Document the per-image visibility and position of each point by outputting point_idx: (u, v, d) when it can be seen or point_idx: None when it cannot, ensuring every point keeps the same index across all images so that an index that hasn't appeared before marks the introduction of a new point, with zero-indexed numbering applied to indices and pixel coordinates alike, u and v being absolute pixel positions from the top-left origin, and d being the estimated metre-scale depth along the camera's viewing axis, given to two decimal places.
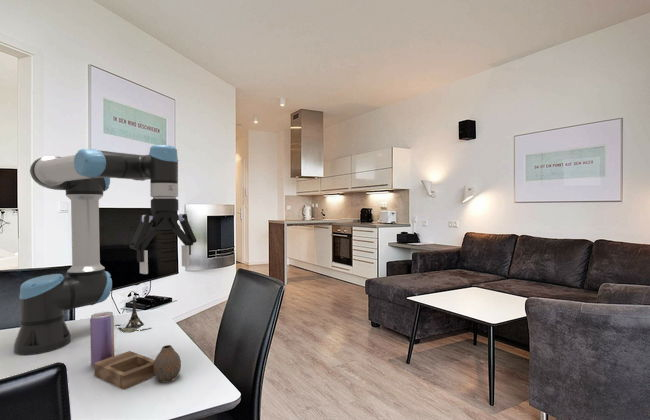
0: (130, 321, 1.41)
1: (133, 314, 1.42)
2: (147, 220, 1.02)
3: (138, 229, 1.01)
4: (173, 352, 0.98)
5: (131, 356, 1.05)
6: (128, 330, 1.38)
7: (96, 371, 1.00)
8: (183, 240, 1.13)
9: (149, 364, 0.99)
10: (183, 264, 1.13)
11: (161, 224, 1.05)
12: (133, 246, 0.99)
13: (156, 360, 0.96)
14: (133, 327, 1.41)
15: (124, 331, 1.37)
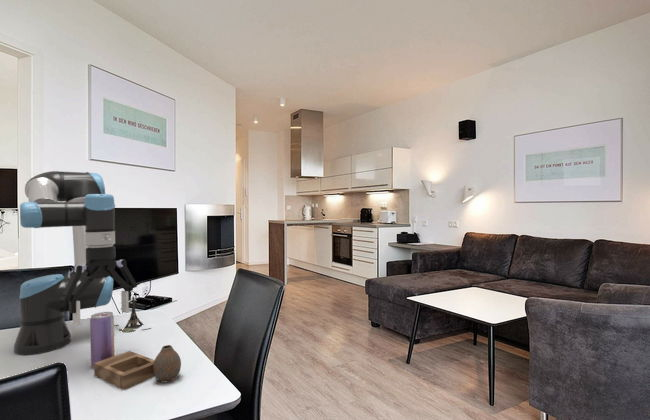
0: (129, 321, 1.41)
1: (132, 314, 1.41)
2: (79, 271, 1.02)
3: (70, 280, 1.01)
4: (173, 352, 0.98)
5: (131, 356, 1.05)
6: (127, 330, 1.37)
7: (96, 371, 1.00)
8: (122, 286, 1.13)
9: (149, 364, 0.99)
10: (123, 310, 1.13)
11: (95, 273, 1.05)
12: (64, 298, 0.99)
13: (156, 360, 0.96)
14: (132, 327, 1.41)
15: (123, 331, 1.37)
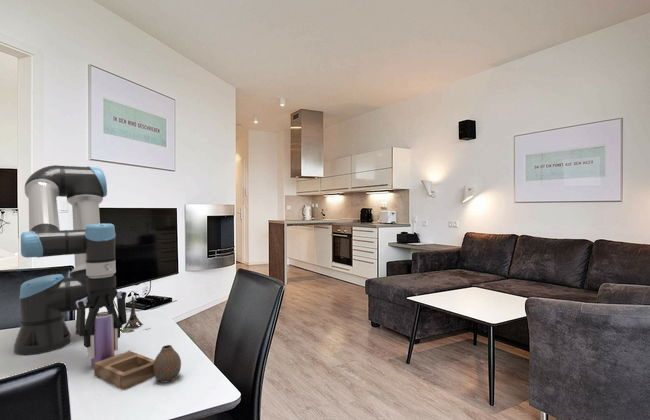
0: (129, 321, 1.41)
1: (132, 314, 1.41)
2: (82, 306, 1.02)
3: (77, 316, 1.03)
4: (173, 352, 0.98)
5: (131, 356, 1.05)
6: (127, 330, 1.37)
7: (96, 371, 1.00)
8: None
9: (149, 364, 0.99)
10: None
11: (98, 304, 1.05)
12: (79, 333, 1.02)
13: (156, 360, 0.96)
14: (132, 327, 1.41)
15: (122, 331, 1.37)
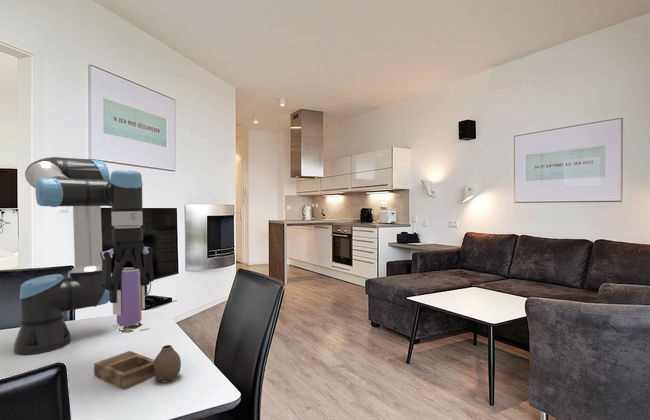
0: None
1: None
2: (108, 257, 0.94)
3: (103, 268, 0.95)
4: (173, 352, 0.98)
5: (131, 356, 1.05)
6: (126, 330, 1.37)
7: (96, 371, 1.00)
8: None
9: (149, 364, 0.99)
10: None
11: (125, 257, 0.97)
12: (105, 287, 0.94)
13: (156, 360, 0.96)
14: (131, 327, 1.41)
15: (121, 331, 1.36)
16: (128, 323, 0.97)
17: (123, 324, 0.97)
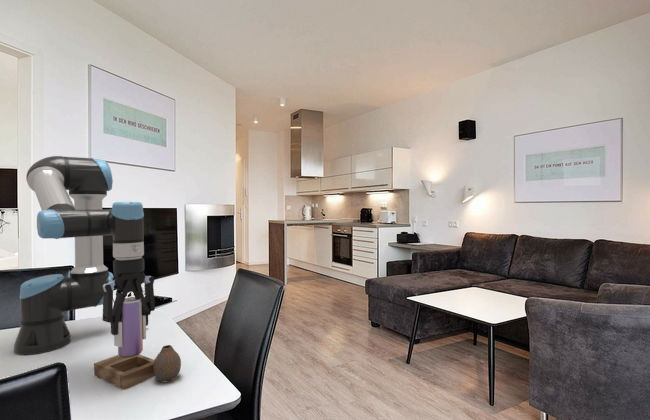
0: None
1: None
2: (110, 289, 0.94)
3: (104, 300, 0.95)
4: (173, 352, 0.98)
5: None
6: None
7: (96, 371, 1.00)
8: None
9: (149, 364, 0.99)
10: None
11: (126, 288, 0.97)
12: (106, 319, 0.94)
13: (156, 360, 0.96)
14: None
15: None
16: (129, 355, 0.97)
17: (124, 356, 0.97)
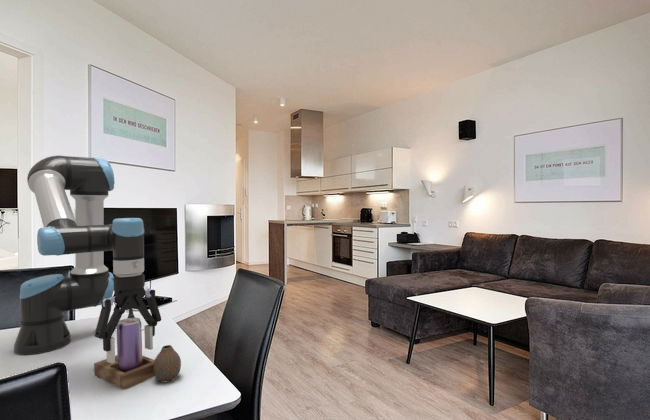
0: None
1: (130, 315, 1.41)
2: (109, 305, 0.94)
3: (101, 315, 0.94)
4: (173, 352, 0.98)
5: None
6: None
7: (96, 371, 1.00)
8: (146, 319, 1.04)
9: (149, 364, 0.99)
10: (146, 346, 1.04)
11: (125, 305, 0.97)
12: (98, 336, 0.92)
13: (156, 360, 0.96)
14: None
15: None
16: None
17: None
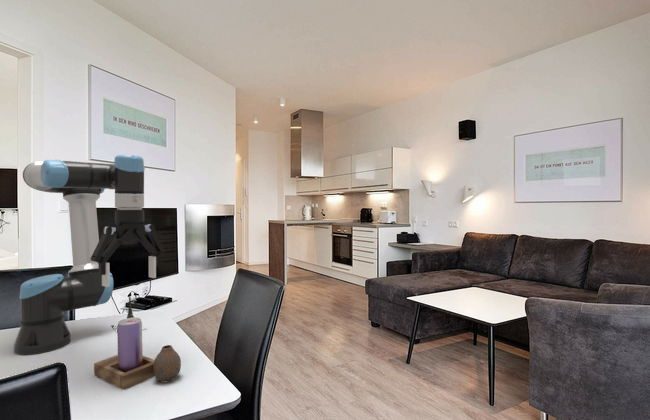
0: None
1: (129, 315, 1.41)
2: (109, 232, 1.00)
3: (100, 241, 0.99)
4: (173, 352, 0.98)
5: None
6: None
7: (96, 371, 1.00)
8: (150, 251, 1.11)
9: (149, 364, 0.99)
10: (150, 275, 1.12)
11: (125, 236, 1.03)
12: (94, 259, 0.97)
13: (156, 360, 0.96)
14: None
15: None
16: None
17: None
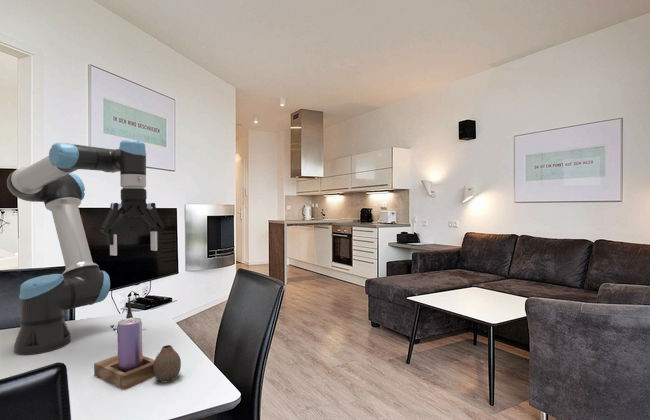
0: None
1: (128, 315, 1.41)
2: (116, 207, 1.13)
3: (108, 215, 1.13)
4: (173, 352, 0.98)
5: None
6: None
7: (96, 371, 1.00)
8: (152, 226, 1.24)
9: (149, 364, 0.99)
10: (152, 248, 1.25)
11: (130, 211, 1.16)
12: (103, 230, 1.10)
13: (156, 360, 0.96)
14: None
15: None
16: None
17: None
